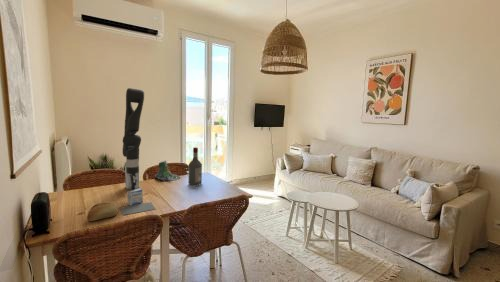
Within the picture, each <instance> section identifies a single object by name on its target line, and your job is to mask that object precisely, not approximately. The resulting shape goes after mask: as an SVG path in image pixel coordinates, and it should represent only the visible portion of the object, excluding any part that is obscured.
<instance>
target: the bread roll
mask: <svg viewBox="0 0 500 282" xmlns="http://www.w3.org/2000/svg"><path fill="white" fill-rule="evenodd" d="M117 214H118V209H117V207H116V206H115V205H114V204H112V203H111V202H100V203H97V204H94V205H93V206H92V207H91V208H90V209H89V211H88V213H87V216H86V220H87V221H88V222H94V221H97V220H98V221H99V220H102V219H107V218H111V217H115V216H116V215H117Z"/></svg>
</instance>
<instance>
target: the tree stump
mask: <svg viewBox="0 0 500 282" xmlns="http://www.w3.org/2000/svg"><path fill="white" fill-rule="evenodd" d="M168 167H169V165H168V163H167V160H163V161H160V162H159V163H158V172H157V174H155V175H154V176H155V178H157V179H158V180H160V181H163V182H174V181H177V179H178V180H180V178H181V177H180V175H178V174H174V173H172V172H171V171H170V169H169V168H168ZM176 177H177V178H176ZM173 180H174V181H173Z"/></svg>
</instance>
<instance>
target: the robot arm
mask: <svg viewBox="0 0 500 282" xmlns="http://www.w3.org/2000/svg"><path fill="white" fill-rule="evenodd" d="M144 102H145V91H144V90H142V89H138V88H130V87H129V88H127V89H126V92H125V119H124V134H123V137H122V144H123V145H122V155H123V157H124V158H125V159H126V160H125V162H124V165H125V166H124V171H125V189H126V190H130V191H131V190H135V189H140V164H139V163H140V145H141V143H142V138H141V136H140V135H138V134H137V133H138V132H139V131H140V123H141V116H142V111H143V107H144ZM133 103H135V104H137V107H136V108H135V109H134V108H133V105H132V104H133Z"/></svg>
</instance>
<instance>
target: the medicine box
mask: <svg viewBox="0 0 500 282" xmlns="http://www.w3.org/2000/svg"><path fill="white" fill-rule="evenodd" d="M126 193H127V195H126V198H127V206H133V205H138V204H143V201H144V200H143V199H144V198H143V189H141V188H137V189H135V190H131V189H130V190H128V191H127V192H126Z"/></svg>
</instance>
